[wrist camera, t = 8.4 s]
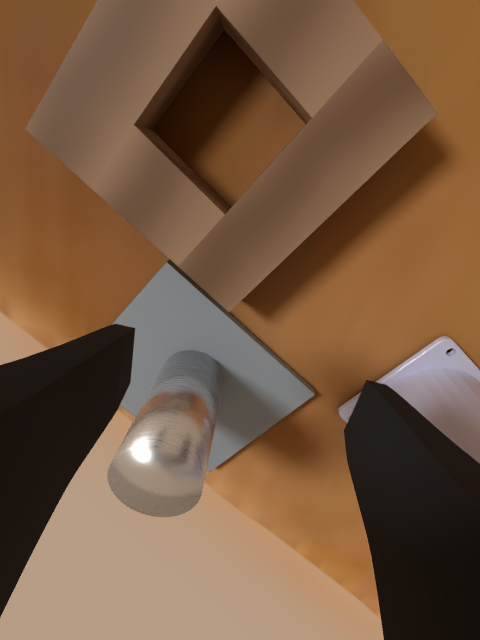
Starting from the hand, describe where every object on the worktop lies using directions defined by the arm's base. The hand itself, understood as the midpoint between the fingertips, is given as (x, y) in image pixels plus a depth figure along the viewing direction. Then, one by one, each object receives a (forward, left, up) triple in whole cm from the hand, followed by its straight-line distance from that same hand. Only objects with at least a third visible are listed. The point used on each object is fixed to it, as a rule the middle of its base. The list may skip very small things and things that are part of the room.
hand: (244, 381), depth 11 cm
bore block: (+6, -5, -10) cm, 12 cm away
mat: (-2, +7, -10) cm, 12 cm away
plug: (-2, +7, -9) cm, 12 cm away
